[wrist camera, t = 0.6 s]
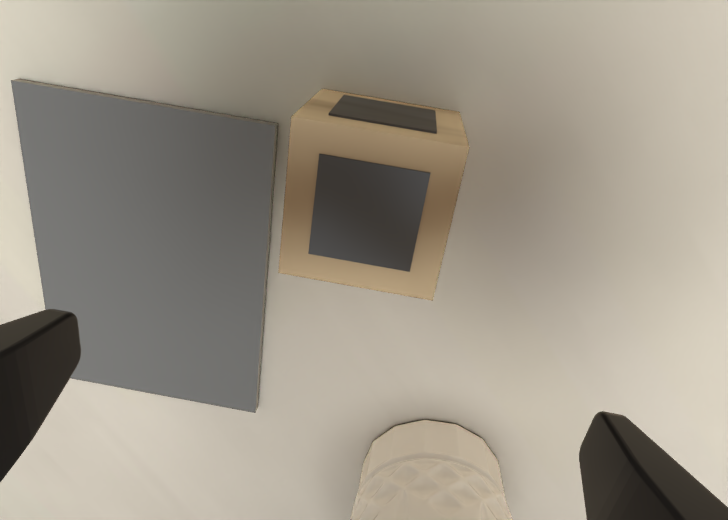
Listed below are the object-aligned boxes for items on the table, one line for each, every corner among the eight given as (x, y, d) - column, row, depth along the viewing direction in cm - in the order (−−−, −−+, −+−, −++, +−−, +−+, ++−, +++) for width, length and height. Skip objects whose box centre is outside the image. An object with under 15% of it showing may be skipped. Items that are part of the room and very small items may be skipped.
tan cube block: (431, 236, 21) (432, 301, 17) (308, 215, 22) (277, 273, 17) (459, 109, 19) (470, 145, 15) (322, 86, 19) (290, 114, 15)
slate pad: (257, 407, 26) (255, 412, 26) (60, 370, 27) (55, 375, 26) (277, 123, 20) (275, 125, 20) (18, 79, 20) (11, 80, 20)
